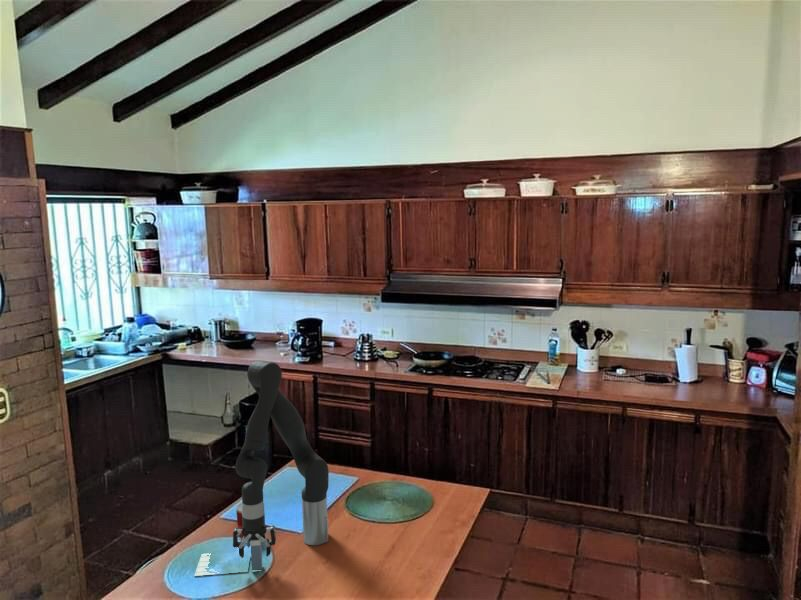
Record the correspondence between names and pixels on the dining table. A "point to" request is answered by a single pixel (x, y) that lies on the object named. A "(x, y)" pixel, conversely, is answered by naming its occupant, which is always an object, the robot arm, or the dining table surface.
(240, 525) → the canned food
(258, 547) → the grey rectangular block
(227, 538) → the dining table surface
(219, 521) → the dining table surface
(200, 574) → the notepad
